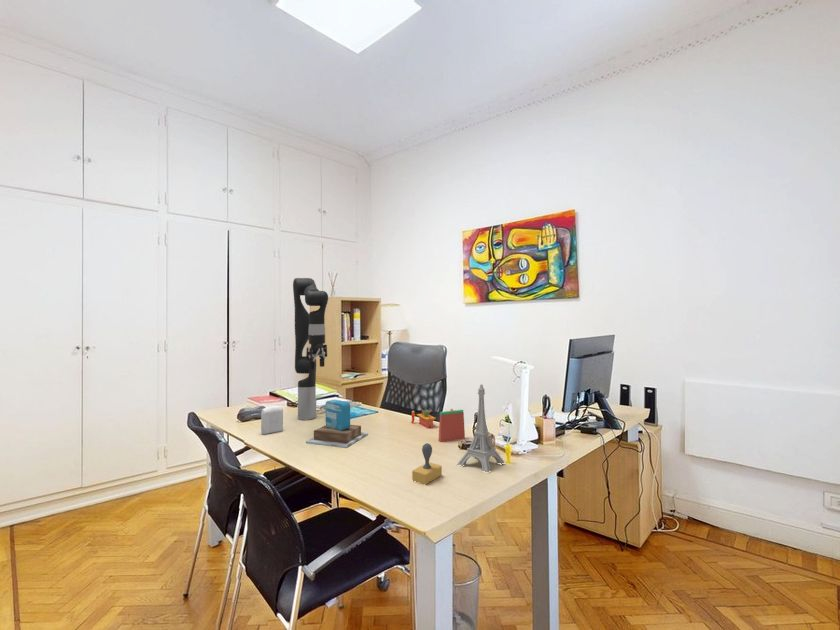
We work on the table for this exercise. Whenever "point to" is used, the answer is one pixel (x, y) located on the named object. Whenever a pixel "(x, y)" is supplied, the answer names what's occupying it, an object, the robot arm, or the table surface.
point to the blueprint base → (337, 436)
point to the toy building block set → (445, 424)
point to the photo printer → (271, 419)
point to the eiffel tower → (481, 440)
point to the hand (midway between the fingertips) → (317, 368)
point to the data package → (338, 414)
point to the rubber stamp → (426, 468)
